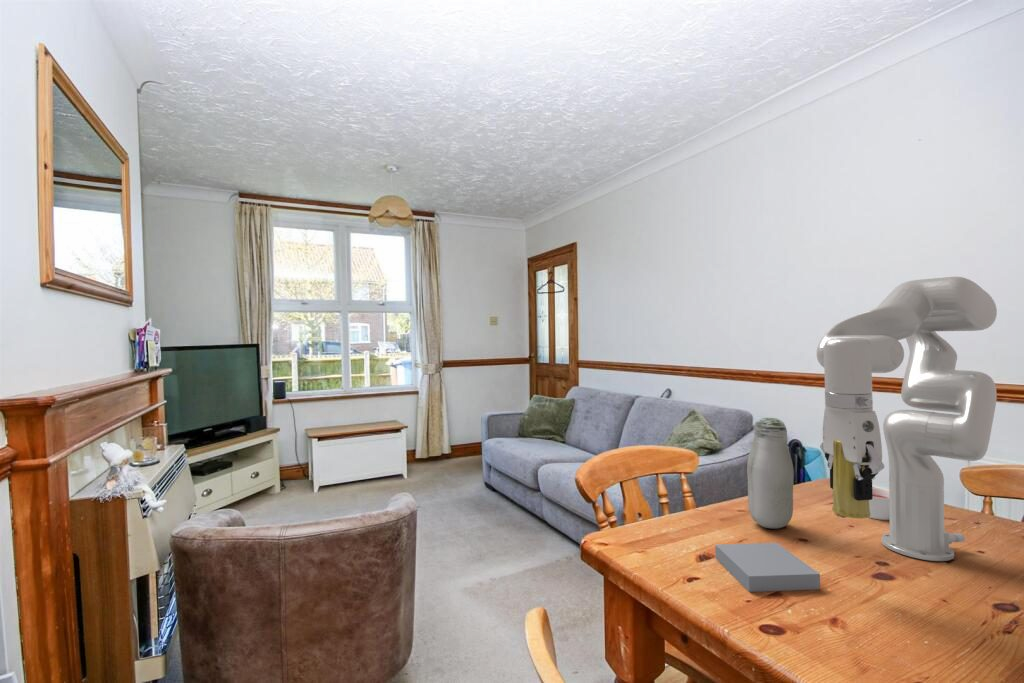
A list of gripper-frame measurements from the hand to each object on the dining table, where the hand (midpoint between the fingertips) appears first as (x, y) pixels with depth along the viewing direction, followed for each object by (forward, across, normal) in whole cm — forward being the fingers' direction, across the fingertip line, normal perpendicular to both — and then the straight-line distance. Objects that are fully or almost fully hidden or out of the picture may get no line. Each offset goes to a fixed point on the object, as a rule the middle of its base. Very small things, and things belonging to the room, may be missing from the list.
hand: (850, 493), depth 92 cm
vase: (+4, 0, 0) cm, 4 cm away
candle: (+20, +34, -33) cm, 52 cm away
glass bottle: (+19, +30, -1) cm, 35 cm away
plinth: (+18, +6, +14) cm, 24 cm away
